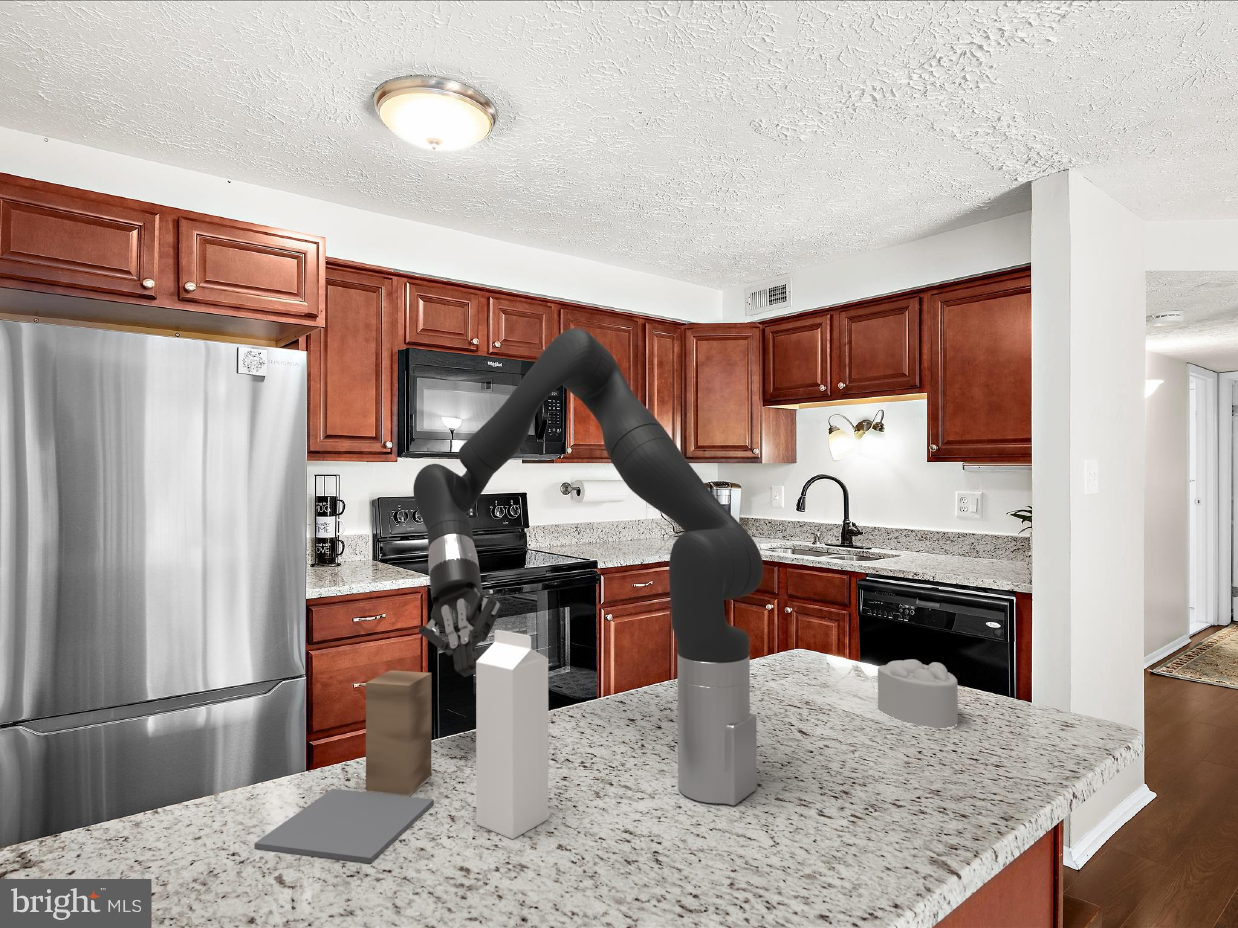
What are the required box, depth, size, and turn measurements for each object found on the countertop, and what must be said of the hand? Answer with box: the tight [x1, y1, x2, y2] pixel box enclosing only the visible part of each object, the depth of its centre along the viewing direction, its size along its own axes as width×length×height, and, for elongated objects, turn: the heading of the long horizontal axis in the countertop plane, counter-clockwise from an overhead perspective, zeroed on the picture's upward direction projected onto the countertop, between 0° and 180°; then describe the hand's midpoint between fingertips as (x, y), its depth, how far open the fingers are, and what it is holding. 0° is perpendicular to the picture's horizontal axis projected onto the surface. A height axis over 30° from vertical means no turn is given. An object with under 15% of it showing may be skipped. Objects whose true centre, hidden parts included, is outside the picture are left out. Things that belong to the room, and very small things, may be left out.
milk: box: [475, 629, 549, 840], centre depth 85 cm, size 6×6×22 cm
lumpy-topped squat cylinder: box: [877, 658, 959, 728], centre depth 121 cm, size 10×13×9 cm
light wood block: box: [365, 670, 432, 797], centre depth 95 cm, size 6×6×14 cm
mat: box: [253, 788, 435, 864], centre depth 84 cm, size 14×14×1 cm
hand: (466, 673), depth 101 cm, fingers closed
